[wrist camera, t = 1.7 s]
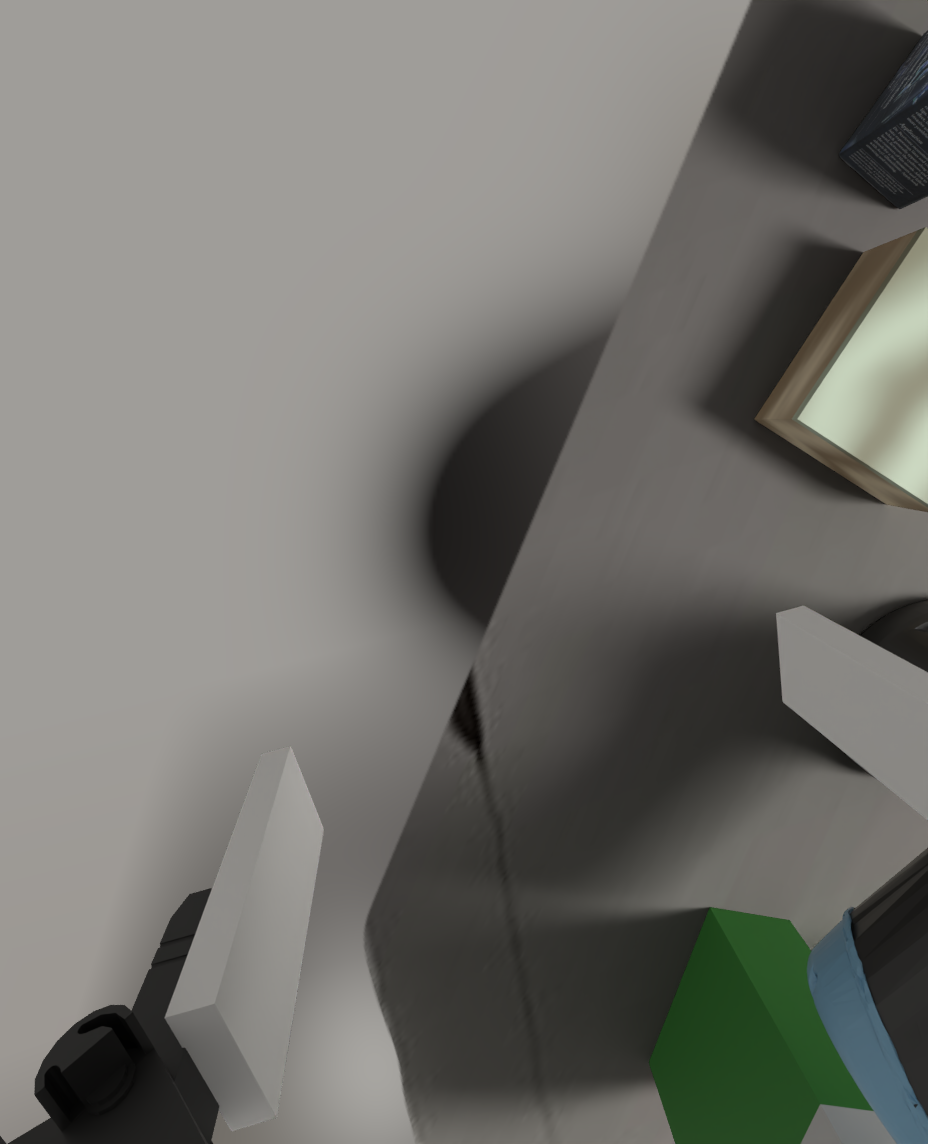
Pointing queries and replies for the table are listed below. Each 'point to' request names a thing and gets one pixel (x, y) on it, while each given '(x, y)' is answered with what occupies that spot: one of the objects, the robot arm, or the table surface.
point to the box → (896, 135)
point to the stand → (866, 378)
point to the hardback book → (754, 1045)
